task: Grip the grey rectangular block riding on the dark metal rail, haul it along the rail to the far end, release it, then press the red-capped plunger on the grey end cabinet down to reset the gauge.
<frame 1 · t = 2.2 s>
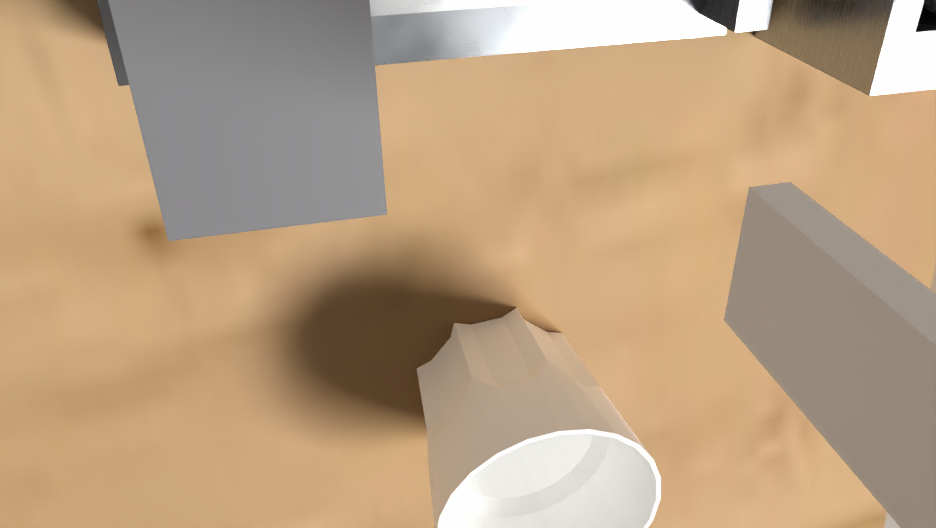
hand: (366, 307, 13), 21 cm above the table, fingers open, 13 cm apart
cup 2: (492, 371, 42), on the table
grey rectangular block: (259, 29, 23), point 8 cm above the table, slide at -7.0 cm
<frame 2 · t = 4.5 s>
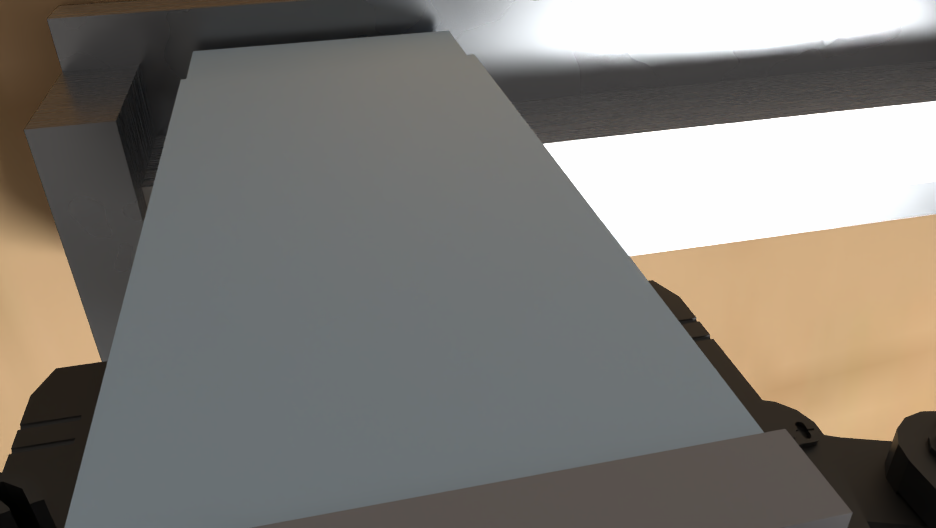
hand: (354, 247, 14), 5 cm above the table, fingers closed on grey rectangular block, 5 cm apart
rail: (620, 115, 19), on the table
grey rectangular block: (375, 350, 12), point 8 cm above the table, slide at -7.0 cm, touching gripper
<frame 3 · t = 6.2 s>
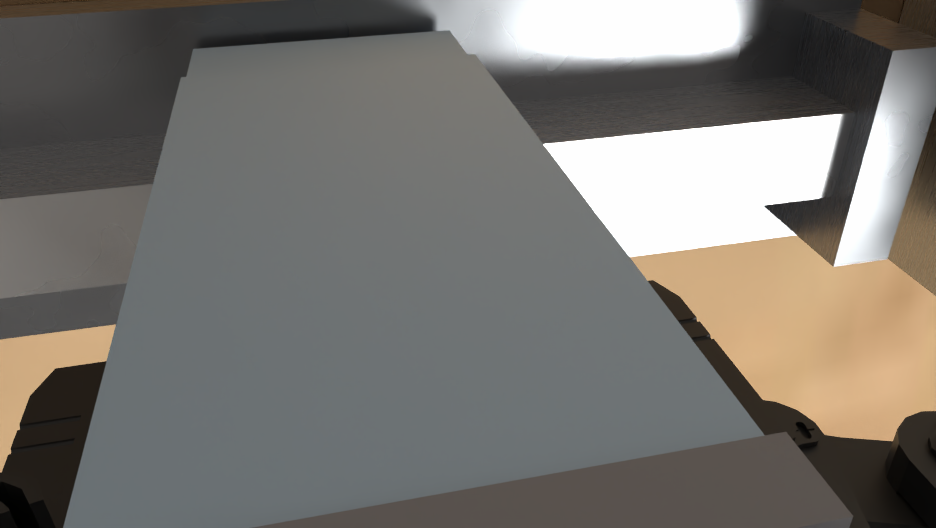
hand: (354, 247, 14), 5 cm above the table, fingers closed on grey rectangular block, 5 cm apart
rail: (344, 142, 18), on the table
grey rectangular block: (374, 350, 12), point 8 cm above the table, slide at -0.2 cm, touching gripper
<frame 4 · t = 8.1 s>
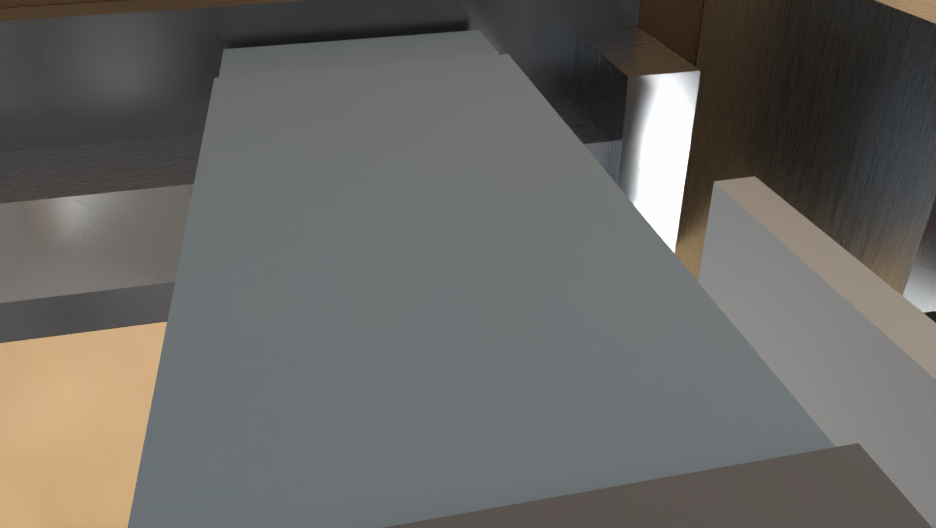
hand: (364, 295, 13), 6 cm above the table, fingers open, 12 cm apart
rail: (86, 170, 17), on the table
gauge cabinet: (799, 101, 20), on the table
grey rectangular block: (410, 353, 12), point 8 cm above the table, slide at 5.9 cm
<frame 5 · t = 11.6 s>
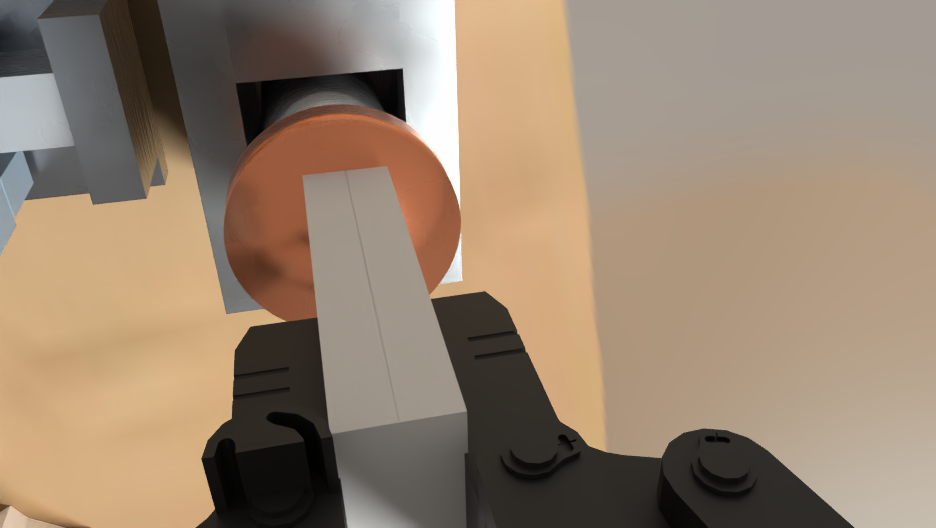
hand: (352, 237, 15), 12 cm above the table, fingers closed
plunger: (328, 143, 19), point 7 cm above the table, slide at 1.1 cm, touching gripper
gauge cabinet: (310, 51, 25), on the table
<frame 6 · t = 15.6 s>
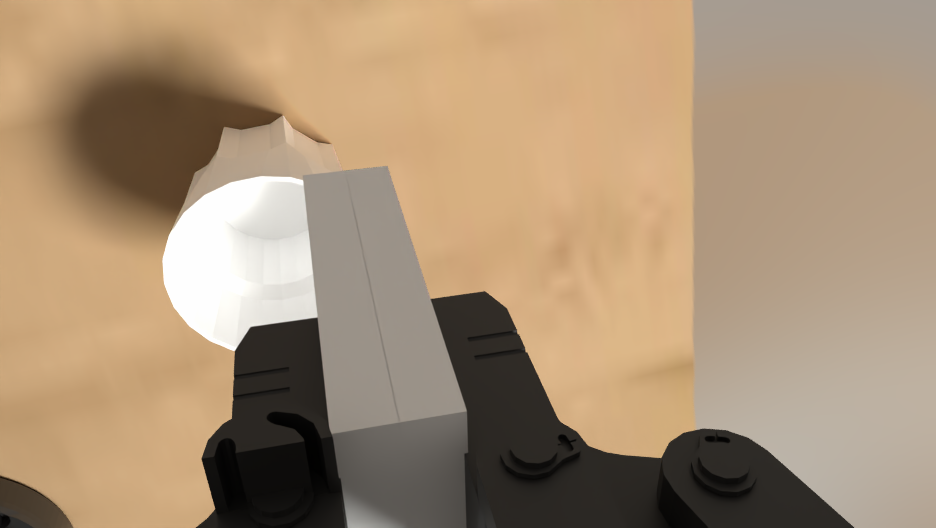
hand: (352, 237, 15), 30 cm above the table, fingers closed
cup 2: (271, 182, 46), on the table
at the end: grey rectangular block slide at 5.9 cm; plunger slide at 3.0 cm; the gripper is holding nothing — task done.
